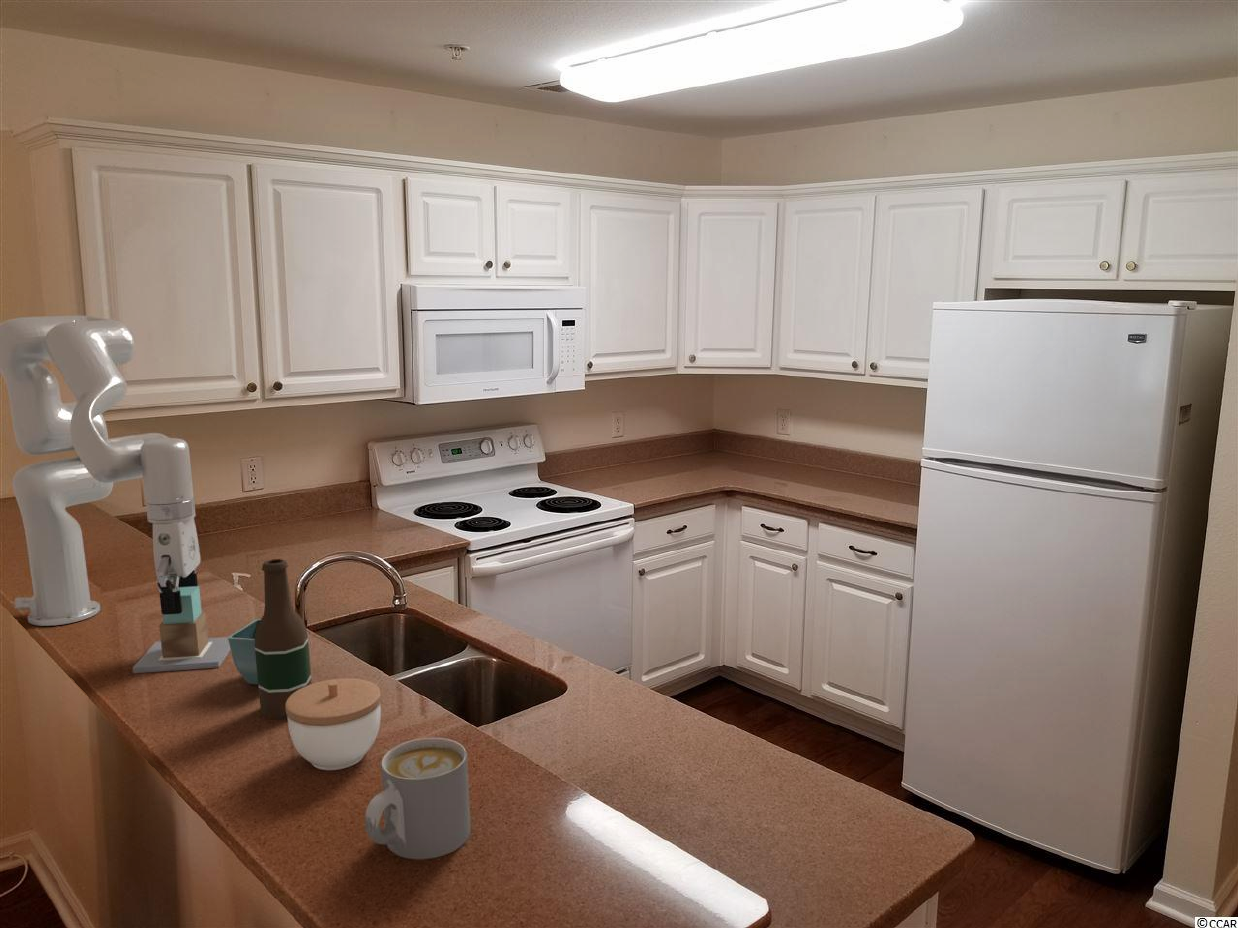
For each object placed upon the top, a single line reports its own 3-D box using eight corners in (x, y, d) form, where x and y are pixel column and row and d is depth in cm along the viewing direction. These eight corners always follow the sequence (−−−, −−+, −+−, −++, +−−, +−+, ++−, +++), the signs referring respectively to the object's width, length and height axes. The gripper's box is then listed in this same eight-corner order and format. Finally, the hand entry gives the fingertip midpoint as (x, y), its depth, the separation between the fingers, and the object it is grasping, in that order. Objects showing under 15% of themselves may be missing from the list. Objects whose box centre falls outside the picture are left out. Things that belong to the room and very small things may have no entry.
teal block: (163, 624, 162) (160, 596, 161) (172, 614, 167) (169, 587, 166) (193, 622, 163) (191, 595, 162) (201, 612, 167) (199, 586, 167)
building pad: (133, 673, 159) (132, 666, 159) (156, 646, 171) (155, 640, 171) (219, 667, 161) (218, 660, 161) (236, 641, 173) (235, 635, 173)
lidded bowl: (333, 790, 121) (327, 711, 119) (270, 765, 128) (264, 690, 126) (403, 749, 132) (399, 676, 130) (341, 728, 138) (336, 658, 136)
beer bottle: (264, 724, 140) (250, 571, 135) (257, 704, 147) (244, 558, 142) (317, 713, 143) (305, 564, 139) (309, 694, 150) (297, 551, 145)
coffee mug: (443, 802, 118) (439, 729, 116) (486, 835, 111) (483, 758, 109) (344, 844, 110) (338, 766, 108) (384, 883, 102) (379, 800, 100)
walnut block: (162, 658, 162) (159, 625, 161) (173, 645, 168) (169, 613, 167) (199, 655, 163) (195, 623, 162) (208, 642, 169) (205, 611, 168)
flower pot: (279, 693, 151) (275, 640, 149) (231, 688, 152) (226, 637, 151) (308, 671, 159) (304, 621, 157) (261, 667, 161) (257, 618, 159)
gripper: (178, 521, 153) (188, 620, 156) (207, 497, 170) (216, 587, 173) (130, 523, 152) (141, 622, 155) (164, 499, 169) (173, 589, 172)
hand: (180, 604), depth 164 cm, fingers open, 9 cm apart
